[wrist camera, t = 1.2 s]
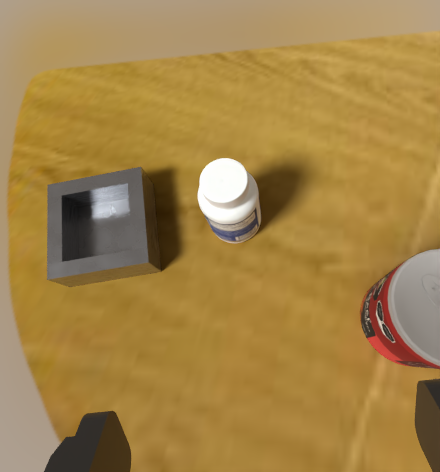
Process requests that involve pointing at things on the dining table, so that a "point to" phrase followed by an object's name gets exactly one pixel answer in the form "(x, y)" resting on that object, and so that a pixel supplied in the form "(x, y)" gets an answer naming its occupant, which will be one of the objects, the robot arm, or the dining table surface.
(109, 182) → the socket cup
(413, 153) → the dining table surface
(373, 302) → the canned food
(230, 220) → the pill bottle
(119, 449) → the robot arm
